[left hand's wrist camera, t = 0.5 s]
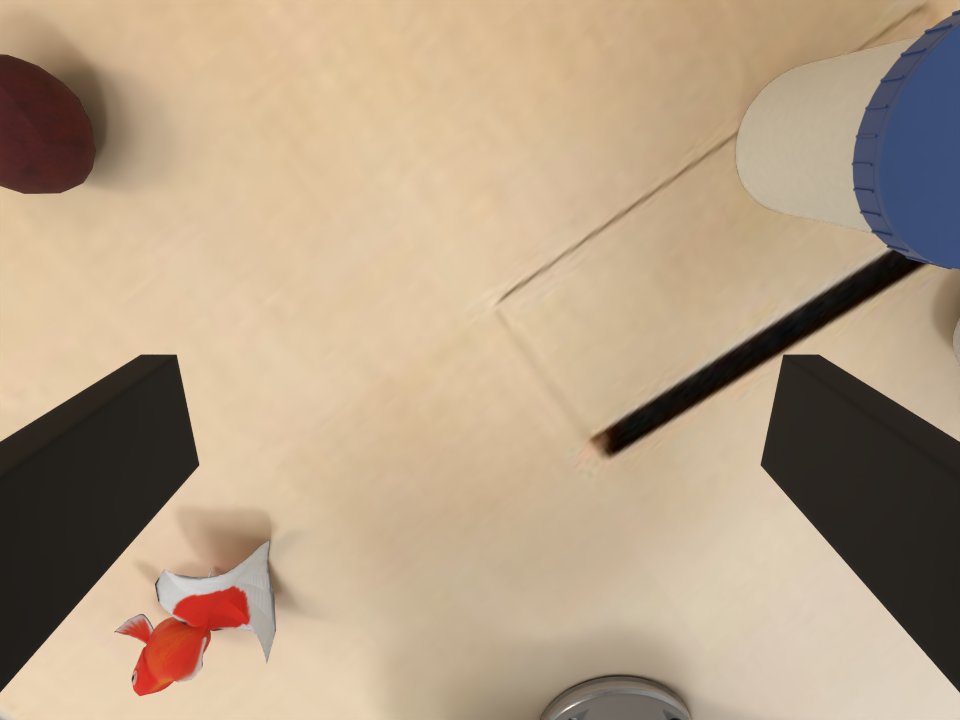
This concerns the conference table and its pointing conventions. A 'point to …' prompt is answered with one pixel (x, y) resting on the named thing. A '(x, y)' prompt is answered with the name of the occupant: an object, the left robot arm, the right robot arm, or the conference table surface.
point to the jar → (812, 135)
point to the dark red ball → (41, 131)
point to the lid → (915, 151)
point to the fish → (201, 620)
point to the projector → (957, 342)
